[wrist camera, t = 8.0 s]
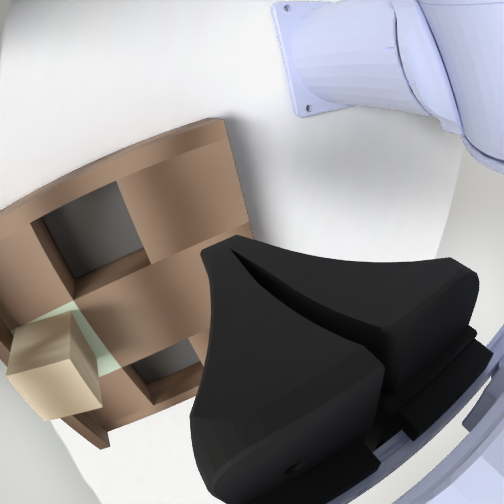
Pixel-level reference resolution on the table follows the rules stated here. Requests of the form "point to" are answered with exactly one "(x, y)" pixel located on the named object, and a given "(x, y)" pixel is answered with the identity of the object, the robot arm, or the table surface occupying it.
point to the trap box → (127, 265)
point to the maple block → (54, 367)
